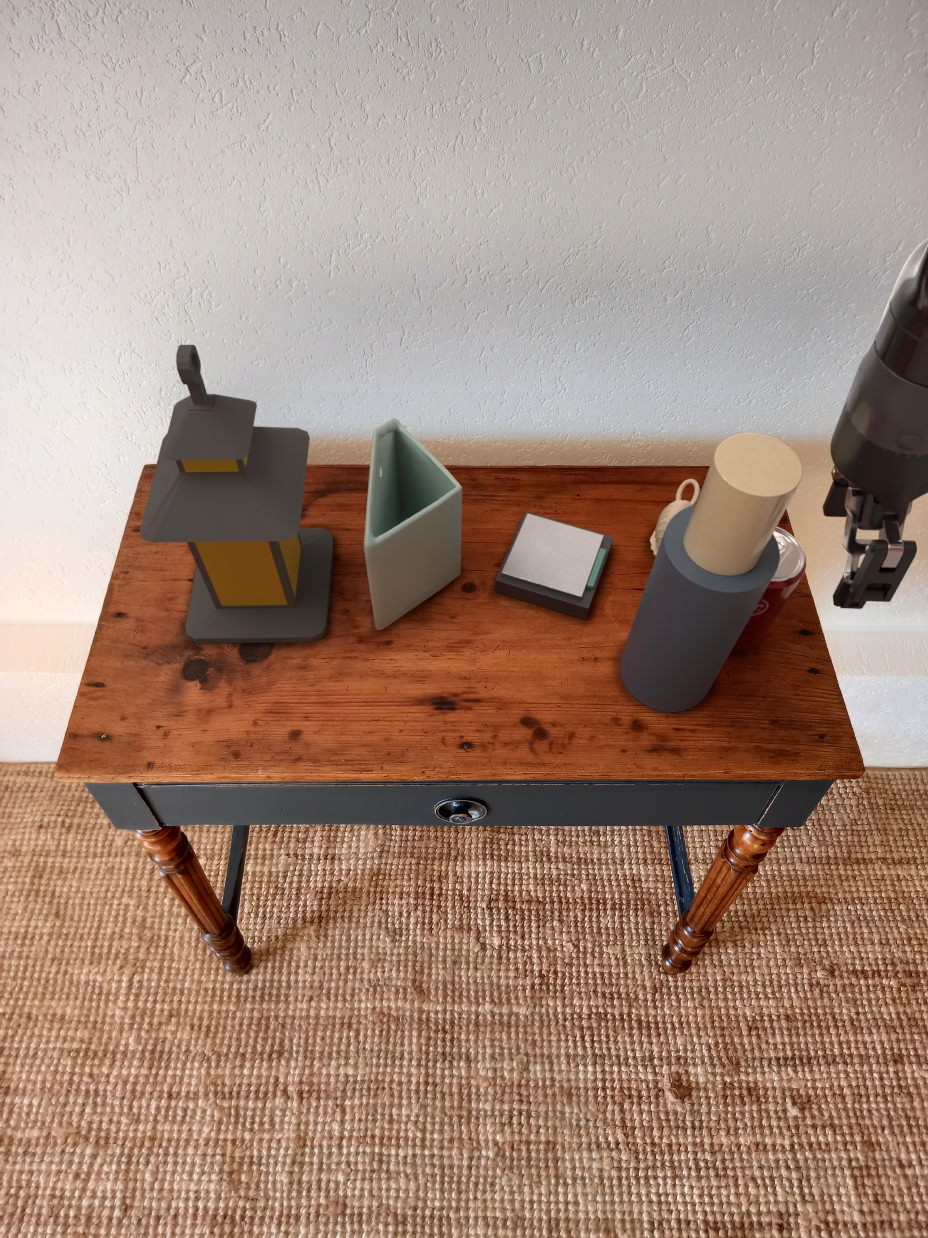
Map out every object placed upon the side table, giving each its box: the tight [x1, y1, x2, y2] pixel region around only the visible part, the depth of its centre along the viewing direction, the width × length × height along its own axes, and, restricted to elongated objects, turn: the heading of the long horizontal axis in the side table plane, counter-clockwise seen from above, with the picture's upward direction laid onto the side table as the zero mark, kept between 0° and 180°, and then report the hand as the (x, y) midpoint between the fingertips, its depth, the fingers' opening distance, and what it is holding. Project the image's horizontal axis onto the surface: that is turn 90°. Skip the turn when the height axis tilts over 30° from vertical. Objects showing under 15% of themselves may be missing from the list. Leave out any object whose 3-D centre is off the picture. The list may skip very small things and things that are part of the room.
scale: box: [494, 510, 614, 621], centre depth 85 cm, size 10×10×3 cm
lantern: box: [139, 344, 335, 645], centre depth 72 cm, size 14×14×30 cm
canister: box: [683, 432, 804, 576], centre depth 59 cm, size 6×6×9 cm
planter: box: [363, 417, 463, 631], centre depth 78 cm, size 16×8×20 cm, turn 174°
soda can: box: [731, 526, 807, 651], centre depth 78 cm, size 7×7×12 cm
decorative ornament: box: [649, 478, 701, 557], centre depth 87 cm, size 4×8×5 cm, turn 147°
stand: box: [619, 505, 780, 713], centre depth 71 cm, size 9×9×20 cm
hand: (841, 556), depth 63 cm, fingers open, 8 cm apart
